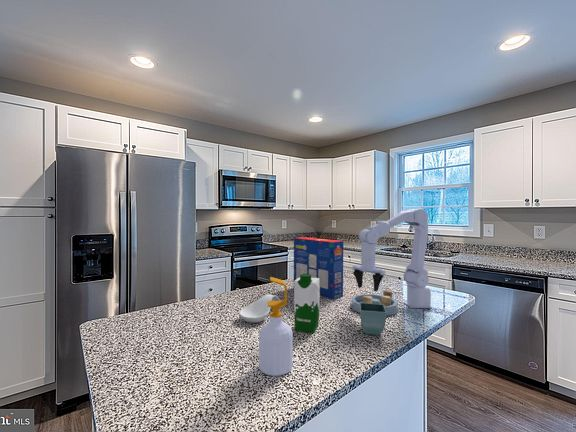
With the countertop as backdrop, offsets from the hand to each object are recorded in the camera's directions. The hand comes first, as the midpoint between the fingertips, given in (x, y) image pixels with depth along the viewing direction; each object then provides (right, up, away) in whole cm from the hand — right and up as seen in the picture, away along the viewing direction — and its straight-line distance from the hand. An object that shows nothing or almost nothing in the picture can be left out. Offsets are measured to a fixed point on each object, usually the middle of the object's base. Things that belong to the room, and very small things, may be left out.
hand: (367, 289), depth 126 cm
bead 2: (+13, -9, +13) cm, 20 cm away
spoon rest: (-45, -10, -5) cm, 46 cm away
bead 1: (0, -8, 0) cm, 8 cm away
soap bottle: (-38, -10, -46) cm, 60 cm away
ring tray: (+4, -9, +4) cm, 11 cm away
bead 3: (+8, -8, 0) cm, 11 cm away
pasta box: (-19, -9, +29) cm, 36 cm away
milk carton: (-27, -10, -19) cm, 35 cm away
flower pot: (-4, -10, -22) cm, 25 cm away
